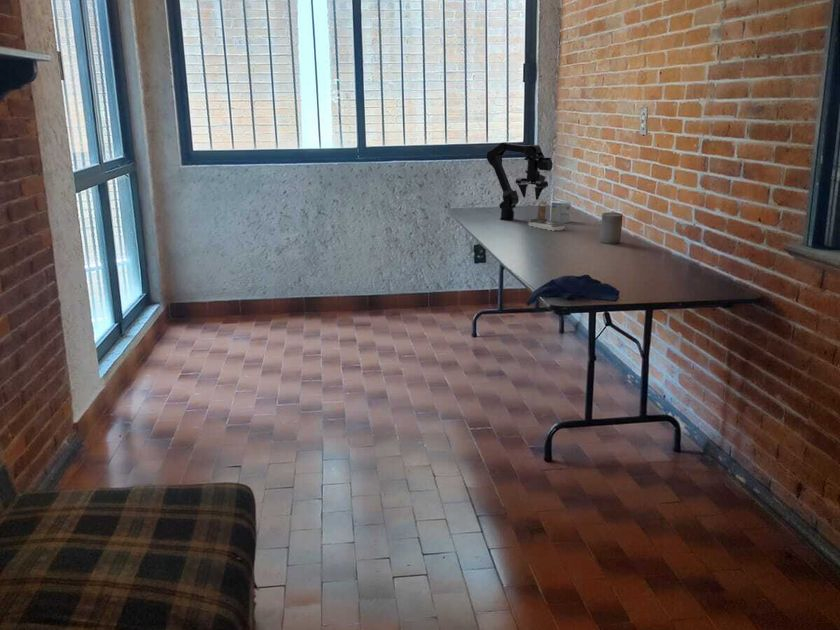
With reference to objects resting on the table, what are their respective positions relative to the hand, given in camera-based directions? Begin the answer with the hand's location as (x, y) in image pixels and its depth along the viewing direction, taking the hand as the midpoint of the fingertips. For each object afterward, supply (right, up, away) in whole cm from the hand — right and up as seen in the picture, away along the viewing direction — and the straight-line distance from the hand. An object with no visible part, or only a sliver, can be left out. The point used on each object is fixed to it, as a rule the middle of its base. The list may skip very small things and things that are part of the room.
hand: (530, 198), depth 407 cm
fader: (+4, -13, -7) cm, 16 cm away
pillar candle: (+32, -28, -42) cm, 60 cm away
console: (+7, -17, -9) cm, 20 cm away
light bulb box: (+17, -11, +11) cm, 23 cm away
